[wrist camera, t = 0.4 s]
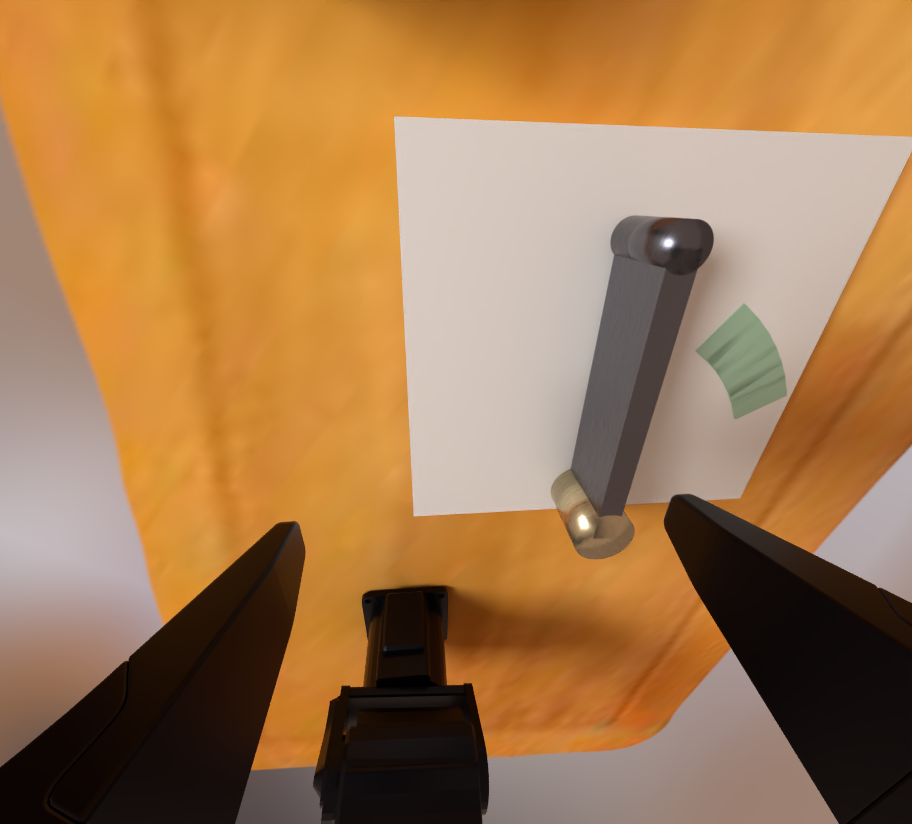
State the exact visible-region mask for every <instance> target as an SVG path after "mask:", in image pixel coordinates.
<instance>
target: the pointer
mask: <svg viewBox="0 0 912 824" xmlns="http://www.w3.org/2000/svg"><path fill="white" fill-rule="evenodd" d="M713 243H714V235H713V231H712V228H711V227H710V225H709V224H708V223H707V222H705V221H703V220H700V219H689V218H673V217H657V216H640V215H632V216H629V217H626V218H624V219H623V220H622V221H620V222H619V223H618V225H617V226H616V227H615V229H614V231H613V233H612V236H611V241H610V245H611V250H612V252H613V254H614V258H613V263H612V268H611V273H610V277H609V282H608V287H607V292H606V297H605V302H604V307H603V312H602V317H601V322H600V327H599V332H598V337H597V342H596V346H595V351H594V356H593V361H592V366H591V371H590V376H589V381H588V386H587V391H586V396H585V401H584V406H583V410H582V415H581V420H580V425H579V430H578V435H577V440H576V445H575V450H574V455H573V460H572V465H571V469H569V470H567V471H565V472H563V473H562V474H561V475H559V476H558V477H557V478H556V480H555V481H554V482H553V484H552V487H551V497H552V499H553V501H554V504H555V506H556V508H557V510H558V512H559V514H560V517H561V519H562V521H563V523H564V525H565V527H566V530H567V532H568V534H569V536H570V538H571V540H572V543H573V545H574V547H575V549H576V551H577V552H578V553H579V554H580V555H581V556H583V557H585V558H589V559H603V558H607V557H611V556H613V555H615V554H617V553H619V552H621V551H622V550H623V549H625V548H626V547H627V546H628V545H629V543H630V542H631V540H632V539H633V536H634V526H633V524H632V522H631V521H630V519H629V518H628V516H627V515H626V513H625V512H624V508H625V504H626V501H627V498H628V495H629V491H630V488H631V485H632V482H633V478H634V475H635V472H636V469H637V465H638V462H639V459H640V456H641V452H642V449H643V446H644V442H645V439H646V436H647V433H648V429H649V426H650V423H651V420H652V416H653V413H654V410H655V407H656V403H657V400H658V397H659V394H660V390H661V387H662V384H663V381H664V377H665V374H666V371H667V368H668V364H669V361H670V358H671V355H672V351H673V348H674V345H675V342H676V338H677V335H678V332H679V329H680V325H681V322H682V319H683V316H684V312H685V309H686V306H687V303H688V299H689V296H690V293H691V289H692V286H693V283H694V280H695V276H696V273H697V270H698V268H699V267H701V266H702V265H703V263H704V262H705V261H706V260H707V258H708V257H709V255H710V253H711V250H712V247H713Z"/></svg>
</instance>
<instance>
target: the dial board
mask: <svg viewBox="0 0 912 824" xmlns="http://www.w3.org/2000/svg"><path fill="white" fill-rule="evenodd" d="M394 122H395V143H396V163H397V183H398V204H399V224H400V244H401V265H402V285H403V305H404V326H405V346H406V366H407V387H408V407H409V427H410V448H411V468H412V489H413V509H414V516H429V515H448V514H466V513H484V512H502V511H520V510H539V509H557V508H556V506H555V504H554V501H553V499H552V497H551V487H552V484H553V482H554V481H555V480H556V478H557V477H558V476H559V475H561V474H562V473H563V472H565V471H567V470H569V469H571V465H572V460H573V455H574V450H575V445H576V440H577V435H578V430H579V425H580V420H581V415H582V410H583V406H584V401H585V396H586V391H587V386H588V381H589V376H590V371H591V366H592V361H593V356H594V351H595V346H596V342H597V337H598V332H599V327H600V322H601V317H602V312H603V307H604V302H605V297H606V292H607V287H608V282H609V277H610V273H611V268H612V263H613V258H614V254H613V252H612V250H611V245H610V241H611V236H612V233H613V231H614V229H615V227H616V226H617V225H618V223H619V222H620V221H622V220H623V219H624V218H626V217H629V216H632V215H640V216H657V217H673V218H689V219H700V220H703V221H705V222H707V223H708V224H709V225H710V227H711V228H712V231H713V235H714V243H713V247H712V250H711V253H710V255H709V257H708V258H707V260H706V261H705V262H704V263H703V265H702V266H701V267H699V268H698V270H697V273H696V276H695V280H694V283H693V286H692V289H691V293H690V296H689V299H688V303H687V306H686V309H685V312H684V316H683V319H682V322H681V325H680V329H679V332H678V335H677V338H676V342H675V345H674V348H673V351H672V355H671V358H670V361H669V364H668V368H667V371H666V374H665V377H664V381H663V384H662V387H661V390H660V394H659V397H658V400H657V403H656V407H655V410H654V413H653V416H652V420H651V423H650V426H649V429H648V433H647V436H646V439H645V442H644V446H643V449H642V452H641V456H640V459H639V462H638V465H637V469H636V472H635V475H634V478H633V482H632V485H631V488H630V491H629V495H628V498H627V501H626V504H625V505H630V504H648V503H666V502H670V500H671V498H672V497H673V496H674V495H676V494H693V495H695V496H697V497H699V498H701V499H703V500H721V499H739V498H740V497H741V495H742V493H743V491H744V489H745V487H746V485H747V483H748V481H749V479H750V477H751V475H752V473H753V471H754V469H755V467H756V465H757V463H758V461H759V459H760V457H761V455H762V453H763V451H764V449H765V447H766V445H767V443H768V441H769V439H770V437H771V435H772V433H773V431H774V429H775V427H776V425H777V423H778V421H779V419H780V417H781V415H782V413H783V411H784V409H785V407H786V404H787V402H788V400H789V398H790V396H791V394H792V392H793V390H794V388H795V386H796V384H797V382H798V380H799V378H800V376H801V374H802V372H803V370H804V368H805V366H806V364H807V362H808V360H809V358H810V356H811V354H812V352H813V350H814V348H815V346H816V344H817V342H818V340H819V338H820V336H821V334H822V332H823V330H824V328H825V326H826V324H827V322H828V320H829V318H830V316H831V314H832V311H833V309H834V307H835V305H836V303H837V301H838V299H839V297H840V295H841V293H842V291H843V289H844V287H845V285H846V283H847V281H848V279H849V277H850V275H851V273H852V271H853V269H854V267H855V265H856V263H857V261H858V259H859V257H860V255H861V253H862V251H863V249H864V247H865V245H866V243H867V241H868V239H869V237H870V235H871V233H872V231H873V229H874V227H875V225H876V223H877V221H878V218H879V216H880V214H881V212H882V210H883V208H884V206H885V204H886V202H887V200H888V198H889V196H890V194H891V192H892V190H893V188H894V186H895V184H896V182H897V180H898V178H899V176H900V174H901V172H902V170H903V168H904V166H905V164H906V162H907V160H908V158H909V156H910V154H911V152H912V137H901V136H876V135H850V134H825V133H800V132H774V131H749V130H724V129H698V128H673V127H648V126H622V125H597V124H572V123H546V122H521V121H496V120H470V119H445V118H420V117H394Z"/></svg>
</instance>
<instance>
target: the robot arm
mask: <svg viewBox="0 0 912 824" xmlns="http://www.w3.org/2000/svg"><path fill="white" fill-rule="evenodd" d="M664 526H665V530H666V532H667V534H668V536H669V538H670V540H671V542H672V544H673V546H674V548H675V550H676V552H677V554H678V556H679V558H680V560H681V562H682V564H683V566H684V568H685V570H686V572H687V575H688V577H689V579H690V580H691V582H692V584H693V586H694V588H695V590H696V591H697V593H698V595H699V596H700V598H701V600H702V601H703V603H704V605H705V606H706V608H707V610H708V611H709V613H710V614H711V616H712V618H713V619H714V621H715V623H716V624H717V626H718V627H719V629H720V631H721V632H722V634H723V636H724V637H725V639H726V640H727V642H728V644H729V645H730V647H731V649H732V650H733V652H734V653H735V655H736V657H737V658H738V660H739V661H740V663H741V665H742V666H743V668H744V670H745V671H746V673H747V675H748V676H749V678H750V679H751V681H752V683H753V684H754V686H755V688H756V689H757V691H758V693H759V694H760V696H761V697H762V699H763V701H764V702H765V704H766V706H767V707H768V709H769V710H770V712H771V714H772V715H773V717H774V719H775V720H776V722H777V724H778V725H779V727H780V728H781V730H782V732H783V733H784V735H785V737H786V738H787V740H788V741H789V743H790V745H791V746H792V748H793V750H794V751H795V753H796V754H797V756H798V758H799V759H800V761H801V763H802V764H803V766H804V768H805V769H806V771H807V772H808V774H809V776H810V777H811V779H812V781H813V782H814V784H815V785H816V787H817V789H818V790H819V792H820V794H821V795H822V797H823V798H824V800H825V801H826V803H827V805H828V806H829V808H830V810H831V812H832V813H833V815H834V816H835V818H836V819H837V821H838V823H839V824H912V603H911V602H908V601H906V600H904V599H902V598H900V597H898V596H896V595H894V594H892V593H890V592H888V591H886V590H884V589H882V588H877V587H876V585H874V584H872V583H870V582H868V581H866V580H863V579H862V578H860V577H858V576H856V575H854V574H852V573H850V572H848V571H846V570H844V569H842V568H840V567H838V566H836V565H834V564H832V563H830V562H828V561H825V560H824V559H822V558H820V557H818V556H816V555H814V554H812V553H810V552H808V551H806V550H804V549H802V548H800V547H797V546H795V545H793V544H791V543H789V542H787V541H785V540H783V539H781V538H779V537H777V536H775V535H773V534H771V533H769V532H767V531H765V530H763V529H761V528H759V527H757V526H755V525H753V524H751V523H749V522H747V521H745V520H743V519H741V518H739V517H737V516H735V515H733V514H731V513H729V512H727V511H725V510H723V509H721V508H719V507H717V506H715V505H713V504H711V503H709V502H707V501H705V500H703V499H701V498H699V497H697V496H695V495H693V494H676V495H674V496H673V497H672V498H671V500H670V503H669V506H668V509H667V512H666V515H665V518H664ZM304 560H305V545H304V541H303V537H302V534H301V530H300V526H299V524H298V523H297V522H295V521H291V522H280V523H278V524H276V525H275V526H274V527H273V528H272V529H270V530H269V531H268V532H267V533H266V534H265V535H264V536H263V537H262V538H260V539H259V540H258V541H257V542H256V543H255V544H254V545H253V546H252V547H251V548H249V549H248V550H247V551H246V552H245V553H244V554H243V555H242V556H241V557H239V558H238V559H237V560H236V561H235V562H234V563H233V564H232V565H231V566H230V567H228V568H227V569H226V570H225V571H224V572H223V573H222V574H221V575H220V576H218V577H217V578H216V579H215V580H214V581H213V582H212V583H211V584H210V585H209V586H207V587H206V588H205V589H204V590H203V591H202V592H201V593H200V594H199V595H197V596H196V597H195V598H194V599H193V600H192V601H191V602H190V603H189V604H187V605H186V606H185V607H184V608H183V609H182V610H181V611H180V612H179V613H178V614H176V615H175V616H174V617H173V618H172V619H171V620H170V621H169V622H168V623H166V624H165V625H164V626H163V627H162V628H161V629H160V630H159V631H158V632H157V633H155V634H154V635H153V636H152V637H151V638H150V639H149V640H148V641H147V642H145V643H144V644H143V645H142V646H141V647H140V648H139V649H138V650H137V651H136V652H134V653H133V654H132V655H131V656H130V658H129V661H125V662H123V663H122V664H121V665H120V666H119V667H118V668H116V669H115V670H114V671H113V672H112V673H111V674H110V675H109V676H108V677H107V678H106V679H104V680H103V681H102V682H101V683H100V684H99V685H98V686H97V687H95V688H94V689H93V690H92V691H91V692H90V693H88V694H87V695H86V696H85V697H84V698H83V699H82V700H81V701H79V702H78V703H77V704H76V705H75V706H74V707H73V708H71V709H70V710H69V711H68V712H67V713H66V714H64V715H63V716H62V717H61V718H60V719H58V720H57V721H56V722H55V723H54V724H52V725H51V726H50V727H49V728H48V729H46V730H45V731H44V732H43V733H41V734H40V735H39V736H38V737H37V738H36V739H34V740H33V741H32V742H31V743H30V744H28V745H27V746H26V747H25V748H24V749H22V750H21V751H20V752H19V753H17V754H16V755H15V756H14V757H12V758H11V759H10V760H9V761H7V762H6V763H5V764H4V765H2V766H1V767H0V824H235V822H236V818H237V815H238V812H239V808H240V805H241V801H242V798H243V795H244V791H245V788H246V784H247V781H248V777H249V774H250V771H251V767H252V764H253V760H254V757H255V754H256V750H257V747H258V743H259V740H260V736H261V733H262V730H263V726H264V723H265V719H266V716H267V712H268V709H269V706H270V702H271V699H272V695H273V692H274V688H275V685H276V682H277V678H278V675H279V671H280V668H281V664H282V661H283V658H284V654H285V651H286V647H287V644H288V641H289V637H290V633H291V630H292V626H293V621H294V616H295V611H296V606H297V600H298V594H299V589H300V583H301V577H302V572H303V566H304ZM362 607H363V613H364V619H365V625H366V631H367V638H368V647H367V657H366V666H365V675H364V685H363V687H350V686H342V688H341V694H340V696H338V697H337V698H335V699H333V700H332V701H330V706H329V712H328V718H327V723H326V729H325V734H324V738H323V742H322V746H321V750H320V755H319V759H318V763H317V767H316V771H315V776H314V782H313V787H314V789H315V791H316V792H317V794H318V796H319V797H320V808H322V818H321V824H482V815H485V814H486V811H487V807H488V799H489V798H488V797H489V773H488V762H487V753H486V747H485V742H484V737H483V732H482V728H481V723H480V719H479V714H478V709H477V705H476V700H475V695H474V691H473V686H472V683H464V685H447V679H446V664H445V648H444V641H445V640H446V639H447V614H448V593H447V589H446V588H444V587H436V588H422V589H409V590H395V591H381V592H368V593H365V594H363V596H362Z"/></svg>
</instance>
